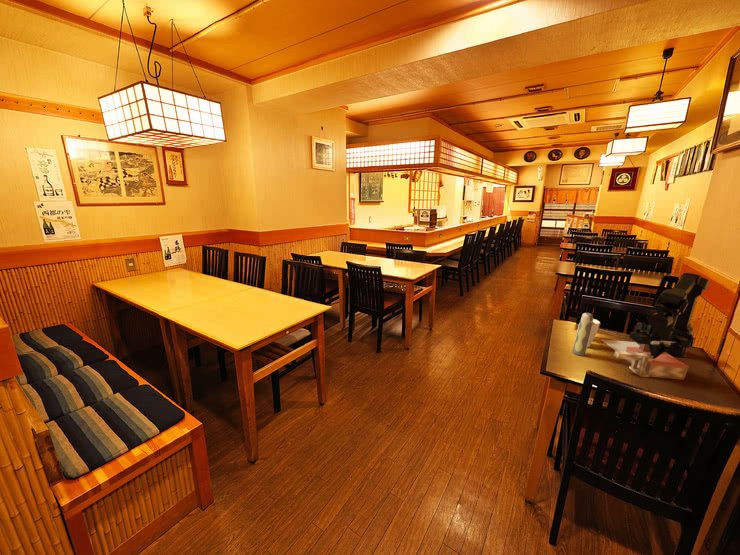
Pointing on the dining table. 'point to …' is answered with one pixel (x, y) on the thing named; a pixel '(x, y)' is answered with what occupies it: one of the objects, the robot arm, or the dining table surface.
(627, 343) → the mat
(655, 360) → the lid
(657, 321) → the robot arm
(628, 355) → the tan wooden bar
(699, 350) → the dining table surface
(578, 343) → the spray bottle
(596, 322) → the white cup
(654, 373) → the toolbox
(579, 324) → the can
